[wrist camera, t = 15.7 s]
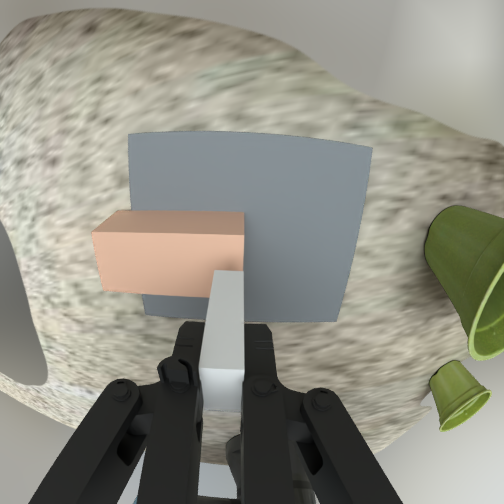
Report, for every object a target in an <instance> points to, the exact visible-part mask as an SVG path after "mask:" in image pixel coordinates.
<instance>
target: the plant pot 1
mask: <svg viewBox="0 0 504 504" xmlns="http://www.w3.org/2000/svg"><path fill="white" fill-rule="evenodd" d="M425 257H426V261H427V263H428V265H429V266H430V268H431V269H432V271H433V272H434V274H435V275H436V277H437V278H438V280H439V282H440V283H441V285H442V287H443V288H444V290H445V292H446V293H447V295H448V297H449V298H450V300H451V302H452V304H453V305H454V307H455V309H456V311H457V313H458V314H459V316H460V319H461V323H462V326H463V328H464V330H465V332H466V334H467V336H468V350H469V353H470V355H471V357H472V358H473V359H475V360H478V361H482V360H488V359H491V358H493V357H495V356H497V355H499V354H500V353H502V352H503V351H504V218H501V217H498V216H494V215H491V214H488V213H485V212H481V211H478V210H475V209H472V208H468V207H464V206H457V205H456V206H451V207H449V208H447V209H445V210H444V211H442V212H441V213H440V214H439V215H438V216H437V217H436V219H435V220H434V221H433V223H432V225H431V227H430V229H429V235H428V238H427V241H426V243H425Z"/></svg>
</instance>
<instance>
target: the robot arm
mask: <svg viewBox="0 0 504 504" xmlns="http://www.w3.org/2000/svg"><path fill="white" fill-rule="evenodd" d="M157 370H158V374H159V377H160V381H159V382H157V383H154V384H150V385H142V386H137V385H136V383H134V382H133V381H131V380H128V379H117V380H114V381H112V382H111V383H110V384H108V385H107V386H106V388H105V389H104V391H103V392H102V393H101V395H100V396H99V398H98V399H97V400H96V402H95V403H94V405H93V406H92V408H91V409H90V410H89V412H88V413H87V415H86V416H85V418H84V419H83V420H82V422H81V423H80V425H79V426H78V428H77V429H76V431H75V432H74V434H73V435H72V436H71V438H70V439H69V441H68V443H67V444H66V446H65V447H64V449H63V450H62V451H61V453H60V454H59V456H58V457H57V459H56V460H55V462H54V464H53V465H52V467H51V468H50V470H49V472H48V473H47V474H46V476H45V478H44V479H43V481H42V482H41V484H40V485H39V487H38V489H37V491H36V492H35V494H34V495H33V497H32V499H31V500H30V502H29V503H28V504H117V502H118V500H119V498H120V496H121V494H122V493H123V490H124V489H125V487H126V485H127V483H128V481H129V479H130V477H131V475H132V473H133V471H134V469H135V467H136V466H137V464H138V462H139V460H140V458H141V456H142V454H143V452H144V450H145V448H146V452H145V457H144V462H143V467H142V473H141V479H140V485H139V490H138V495H137V497H136V499H135V501H134V503H133V504H316V500H315V494H316V496H317V498H318V500H319V503H320V504H403V503H402V501H401V500H400V498H399V496H398V495H397V493H396V491H395V490H394V488H393V487H392V485H391V483H390V481H389V480H388V478H387V476H386V475H385V473H384V472H383V470H382V468H381V466H380V465H379V463H378V462H377V460H376V458H375V457H374V455H373V453H372V452H371V450H370V448H369V447H368V445H367V443H366V442H365V440H364V438H363V437H362V435H361V433H360V432H359V430H358V428H357V427H356V425H355V423H354V422H353V420H352V419H351V417H350V415H349V414H348V412H347V410H346V409H345V407H344V405H343V404H342V402H341V400H340V399H339V397H338V396H337V395H336V394H335V393H334V392H333V391H331V390H329V389H325V388H314V389H312V390H310V391H308V392H307V393H301V392H297V391H293V390H290V389H288V388H286V387H284V386H283V385H282V384H281V383H280V381H279V380H278V377H277V372H276V363H275V355H274V347H273V339H272V332H271V331H270V329H269V328H268V326H267V325H266V324H244V271H227V270H214V275H213V281H212V287H211V293H210V298H209V304H208V310H207V316H206V323H204V322H189V321H186V322H185V323H184V324H183V325H182V326H181V327H180V328H179V331H178V335H177V339H176V343H175V346H174V350H173V354H172V356H171V357H168V358H165V359H164V360H162V361H161V362H160V363H159V365H158V367H157ZM203 409H204V410H212V411H233V412H241V426H240V432H241V435H238V436H236V437H234V438H232V439H231V440H230V441H229V442H228V443H227V445H226V459H227V462H228V465H229V467H230V470H231V473H232V475H233V477H234V480H235V483H236V485H237V499H229V498H217V497H206V496H199V495H198V482H199V467H200V454H201V442H202V430H203V418H202V414H203ZM146 446H147V447H146ZM314 492H315V494H314Z"/></svg>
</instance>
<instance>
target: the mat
mask: <svg viewBox="0 0 504 504" xmlns="http://www.w3.org/2000/svg"><path fill="white" fill-rule="evenodd" d="M372 149H373V148H371V147H367V146H361V145H355V144H350V143H343V142H337V141H330V140H323V139H316V138H307V137H299V136H289V135H278V134H265V133H250V132H226V131H173V132H150V133H135V134H128V156H129V184H130V200H131V211H139V210H167V211H226V212H244V256H243V271H244V321H248V322H336V321H337V318H338V314H339V311H340V307H341V304H342V300H343V296H344V293H345V289H346V285H347V281H348V277H349V273H350V269H351V265H352V261H353V256H354V252H355V247H356V243H357V238H358V233H359V229H360V224H361V218H362V213H363V208H364V202H365V196H366V190H367V184H368V178H369V171H370V164H371V157H372ZM142 298H143V304H144V309H145V314H146V315H151V316H162V317H174V318H188V319H203V320H206V316H207V310H208V304H209V298H207V297H186V296H168V295H152V294H142Z"/></svg>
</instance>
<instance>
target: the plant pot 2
mask: <svg viewBox="0 0 504 504" xmlns="http://www.w3.org/2000/svg"><path fill="white" fill-rule="evenodd" d="M429 384H430V388H431V391H432V394H433V397H434V400H435V403H436V406H437V410H438V413H439V417H440V419H439V421H440V425H441V426H440V428H439V429H440V431H441V432H445V431H448V430H451V429H453V428H455V427H457V426H459V425H460V424H462V423H464V422H465V421H467V420H468V419H469V418H471V417H472V416H473V415H474V414H476V413H477V412H478V411H479V410H480V409H481V408H482V407H483V406H484V405H485V404H486V403H487V401H488V400H489V399H490V397H491V395H492V392H491V390H487V389H486V388H485V387H484V386H482V385H480V383H479V382H478V381H477V380H476V379H475V378H474V377H473V376H472V375H471V373H469V371H468V370H467V369H466V368H465V367H464V366H463V365H462V364H461V363H460V361H459V362H458V361H452V362H449V363H448V364H446V365H444V366H443V367H441V368H440V369H439V371H438V373H437V374H436V375H434V376H432V378H431V380H430V382H429Z"/></svg>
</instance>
